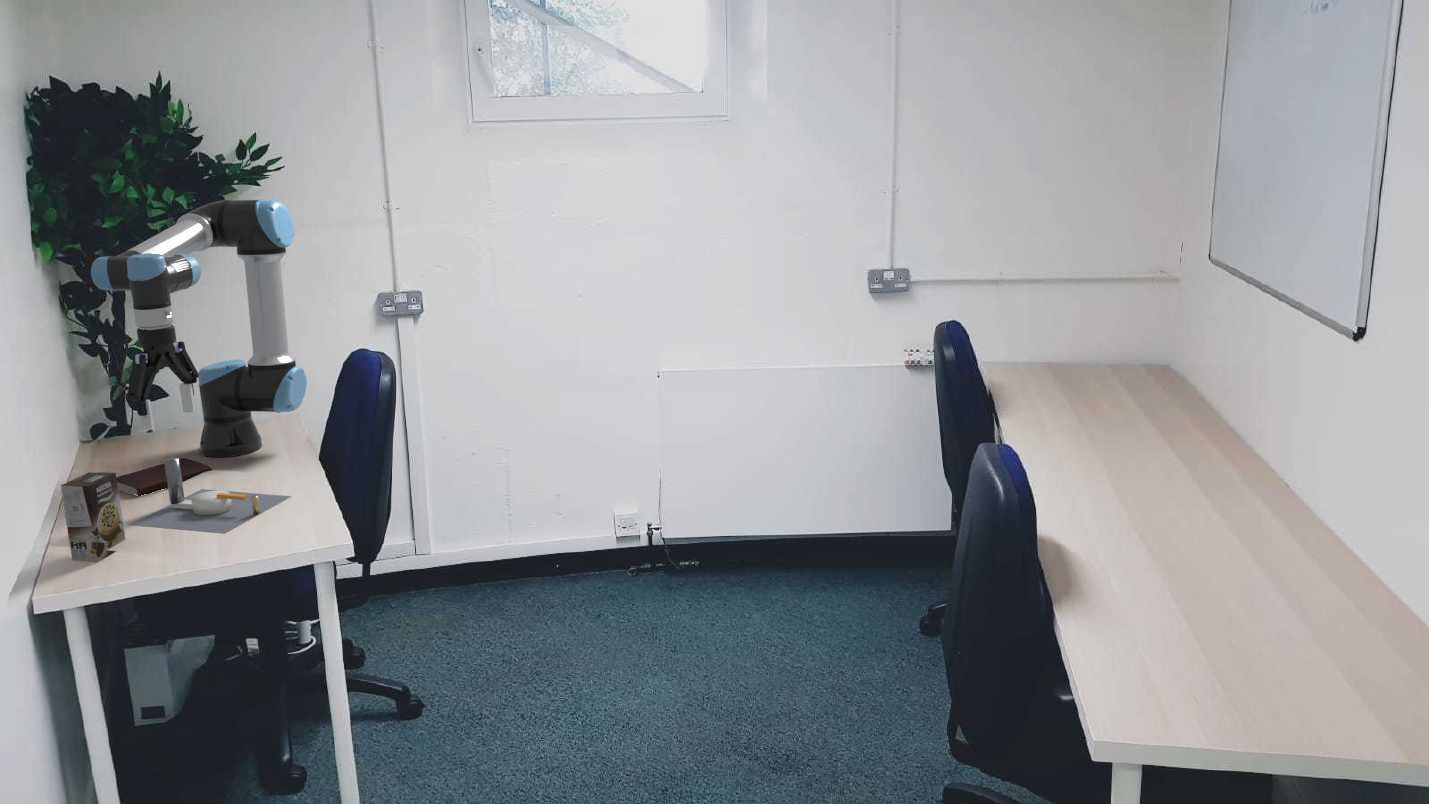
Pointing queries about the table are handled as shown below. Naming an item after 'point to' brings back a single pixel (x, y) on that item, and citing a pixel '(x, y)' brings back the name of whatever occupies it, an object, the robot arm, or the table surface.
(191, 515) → the dial base plate
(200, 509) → the white grey handled piece
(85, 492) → the cookie box
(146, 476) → the book
